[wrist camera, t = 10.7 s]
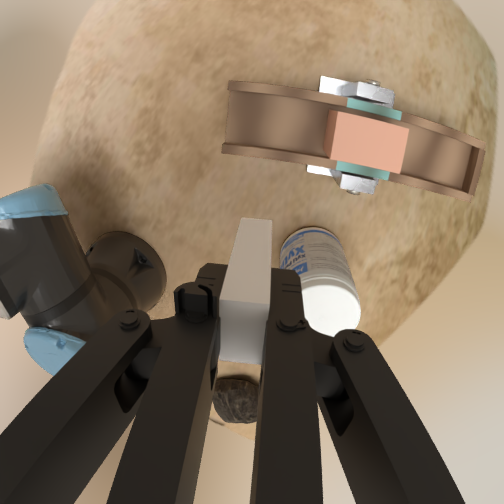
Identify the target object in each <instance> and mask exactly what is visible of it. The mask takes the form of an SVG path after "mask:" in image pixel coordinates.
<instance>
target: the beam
mask: <svg viewBox="0 0 504 504" xmlns="http://www.w3.org/2000/svg"><path fill="white" fill-rule="evenodd" d="M228 90H230V96H229V106H228V116H227V126H226V136H225V142H224V143H223V144H222V153H223V154H233V155H242V156H250V157H258V158H266V159H273V160H280V161H287V162H293V163H300V164H306V165H312V166H318V167H323V168H329V169H334V170H340V171H345V172H350V173H355V174H360V175H365V176H370V177H374V178H379V179H383V180H388V181H392V182H396V183H400V184H405V185H409V186H413V187H417V188H420V189H424V190H428V191H432V192H436V193H439V194H443V195H446V196H450V197H453V198H457V199H460V200H464V201H467V202H470V203H471V199H472V196H474V194H475V191H476V187H477V183H478V180H479V176H480V172H481V168H482V164H483V160H484V155H485V151H484V149H485V144H486V143H485V142H483V141H481V140H479V139H477V138H474V137H472V136H470V135H467V134H465V133H462V132H460V131H457V130H454V129H452V128H449V127H447V126H444V125H441V124H438V123H436V122H433V121H430V120H427V119H424V118H421V117H418V116H415V115H412V114H408V113H405V112H402V111H398V110H395V109H391V108H388V107H384V106H381V105H377V104H373V103H369V102H365V101H361V100H357V99H352V98H348V97H343V96H339V95H334V94H329V93H323V92H318V91H312V90H307V89H300V88H294V87H287V86H280V85H272V84H263V83H254V82H243V81H229V83H228ZM329 110H334V111H339V112H344V113H349V114H353V115H358V116H362V117H366V118H371V119H375V120H379V121H383V122H386V123H390V124H394V125H397V126H401V127H404V128H408V129H409V133H408V138H407V143H406V148H405V153H404V158H403V162H402V167H401V171H400V174H398V173H394V172H389V171H385V170H381V169H376V168H372V167H367V166H362V165H357V164H353V163H348V162H342V161H337V160H332V159H330V158H329V157H328V156H327V154H326V153H325V152H324V150H323V146H324V140H325V133H326V127H327V121H328V114H329Z"/></svg>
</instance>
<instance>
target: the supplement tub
mask: <svg viewBox="0 0 504 504" xmlns="http://www.w3.org/2000/svg"><path fill="white" fill-rule="evenodd" d="M280 269H289V270H295V271H296V273H297V274H298V275H299V276H300V279H301V287H302V296H303V305H304V315H305V318H306V319H307V320H308V323H309V325H310V327H311V328H312V329H314V330H316V331H317V332H320V333H322V334H325V335H329V336H332V337H334V336H335V334H336V333H338V332H339V331H341V330H344V329H355V328H356V326H357V325H358V323H359V320H360V316H361V309H360V301H359V297H358V293H357V290H356V287H355V284H354V281H353V278H352V275H351V272H350V269H349V266H348V263H347V260H346V257H345V254H344V251H343V248H342V245H341V243H340V241H339V240H338V239H337V237H336V236H335V235H334V234H332V233H331V232H329V231H327V230H325V229H322V228H317V227H309V228H304V229H301V230H298V231H296V232H294V233H293V234H292V235H290V236H289V237H288V238H287V239H286V241H285V242H284V244H283V246H282V248H281V252H280Z"/></svg>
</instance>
